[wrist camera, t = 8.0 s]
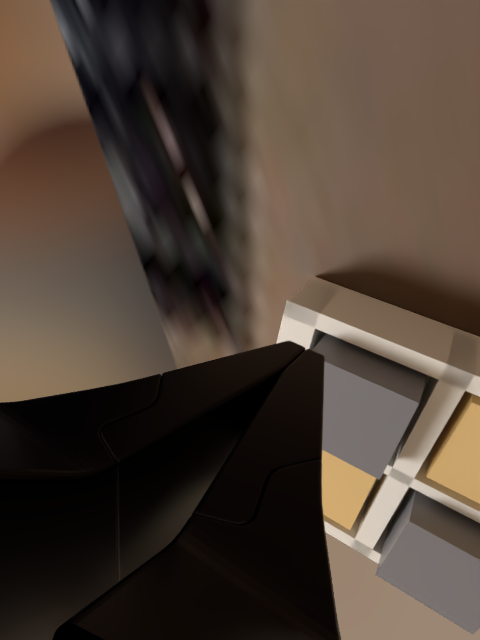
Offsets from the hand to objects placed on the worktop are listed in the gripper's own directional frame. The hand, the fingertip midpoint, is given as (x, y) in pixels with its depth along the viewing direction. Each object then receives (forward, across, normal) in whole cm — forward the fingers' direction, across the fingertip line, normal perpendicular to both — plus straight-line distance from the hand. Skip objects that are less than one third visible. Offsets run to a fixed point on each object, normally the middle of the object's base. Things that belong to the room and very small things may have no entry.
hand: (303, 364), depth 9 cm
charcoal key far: (+10, -7, +13) cm, 18 cm away
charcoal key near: (+10, -1, +7) cm, 12 cm away
